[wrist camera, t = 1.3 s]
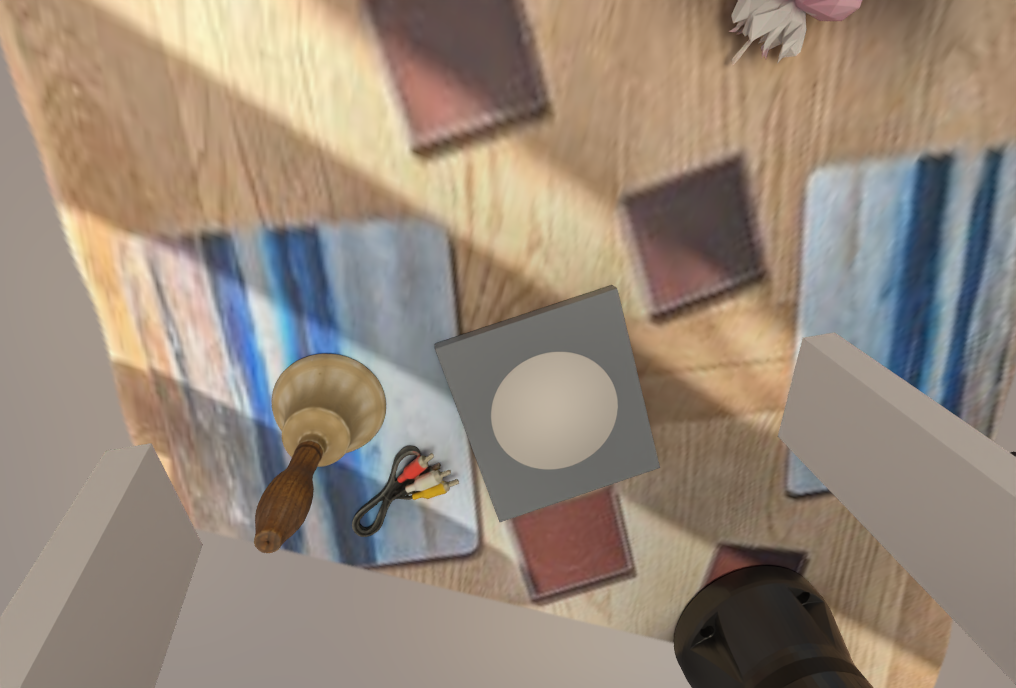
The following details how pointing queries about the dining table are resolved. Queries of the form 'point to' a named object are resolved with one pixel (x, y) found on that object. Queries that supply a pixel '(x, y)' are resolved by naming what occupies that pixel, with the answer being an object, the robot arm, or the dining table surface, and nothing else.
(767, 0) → the flower
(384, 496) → the composite cable
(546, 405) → the board
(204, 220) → the dining table surface
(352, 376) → the hand bell
